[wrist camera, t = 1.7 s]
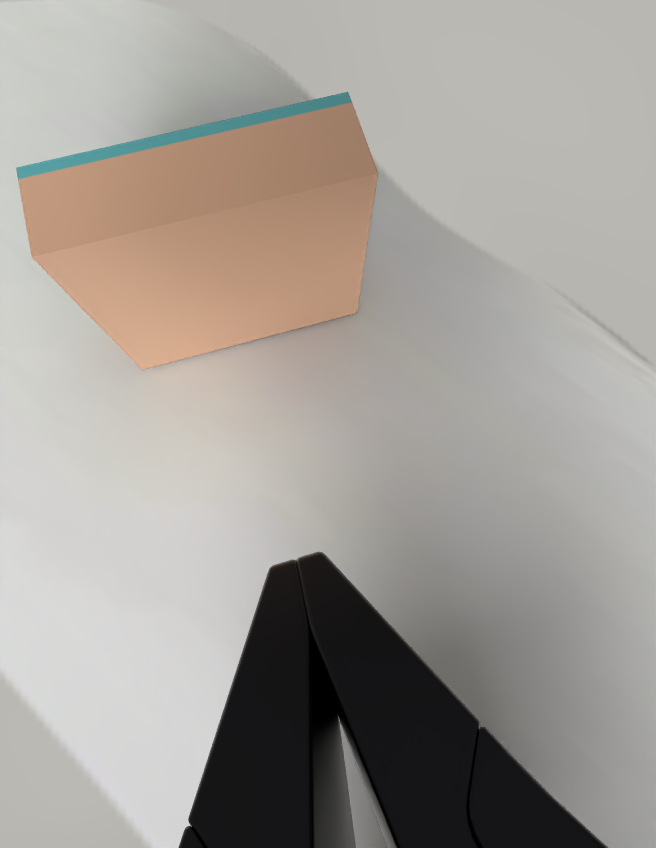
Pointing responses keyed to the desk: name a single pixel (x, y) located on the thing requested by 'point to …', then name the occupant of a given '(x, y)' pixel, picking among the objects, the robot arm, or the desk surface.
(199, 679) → the desk surface
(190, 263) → the tile
